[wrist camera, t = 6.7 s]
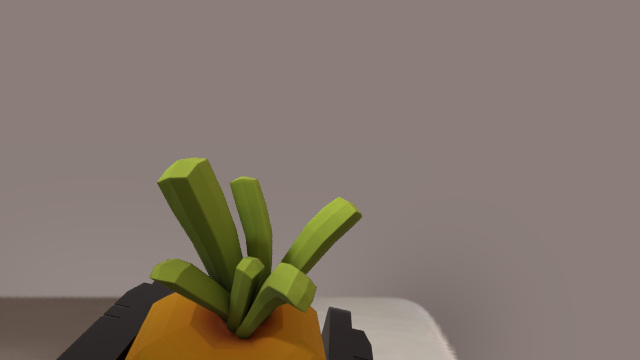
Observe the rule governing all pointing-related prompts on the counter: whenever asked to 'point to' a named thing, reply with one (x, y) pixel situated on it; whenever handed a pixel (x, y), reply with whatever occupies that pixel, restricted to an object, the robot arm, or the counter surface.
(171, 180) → the carrot
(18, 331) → the counter surface
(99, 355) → the robot arm
